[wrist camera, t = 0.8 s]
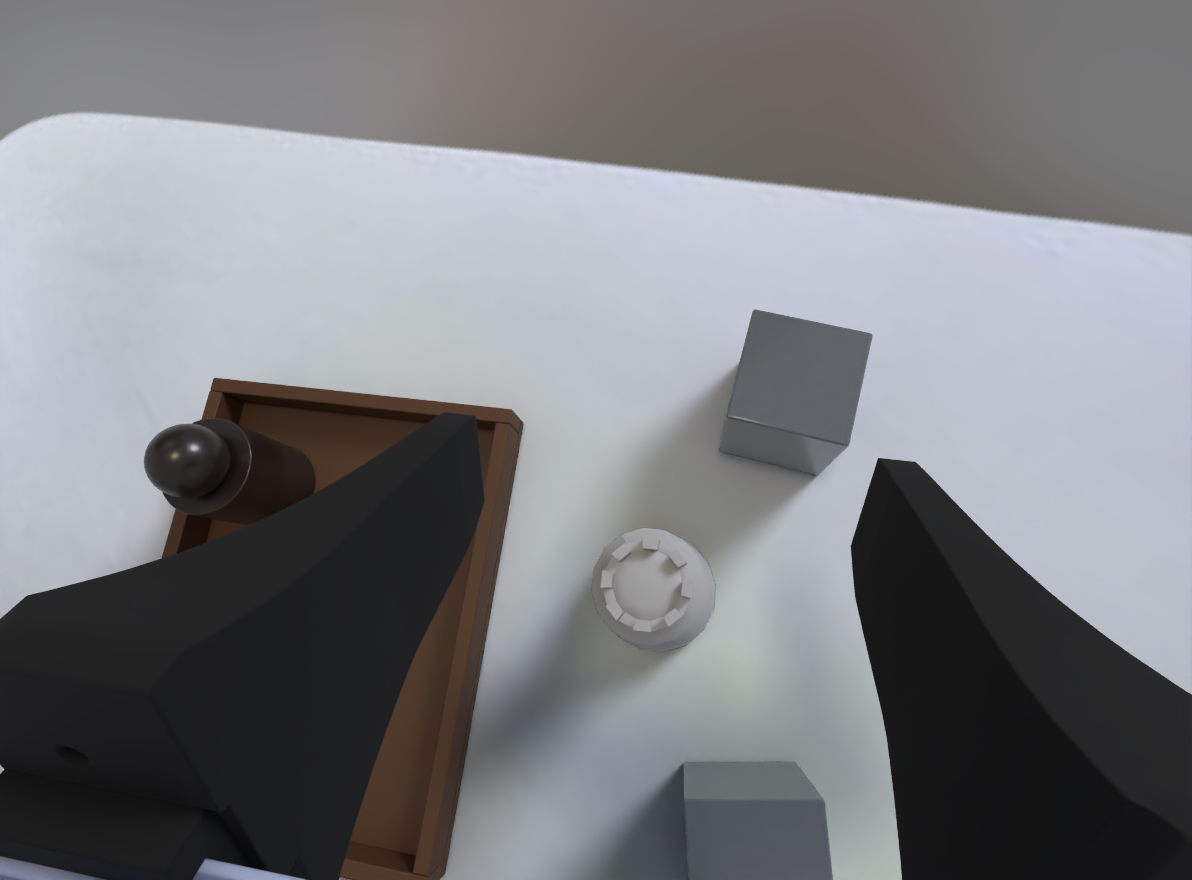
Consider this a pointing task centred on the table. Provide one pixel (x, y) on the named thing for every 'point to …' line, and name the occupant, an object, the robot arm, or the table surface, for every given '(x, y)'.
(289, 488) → the pawn
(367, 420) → the walnut tray
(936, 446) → the table surface
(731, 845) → the grey block
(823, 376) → the grey block
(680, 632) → the rook chess piece
